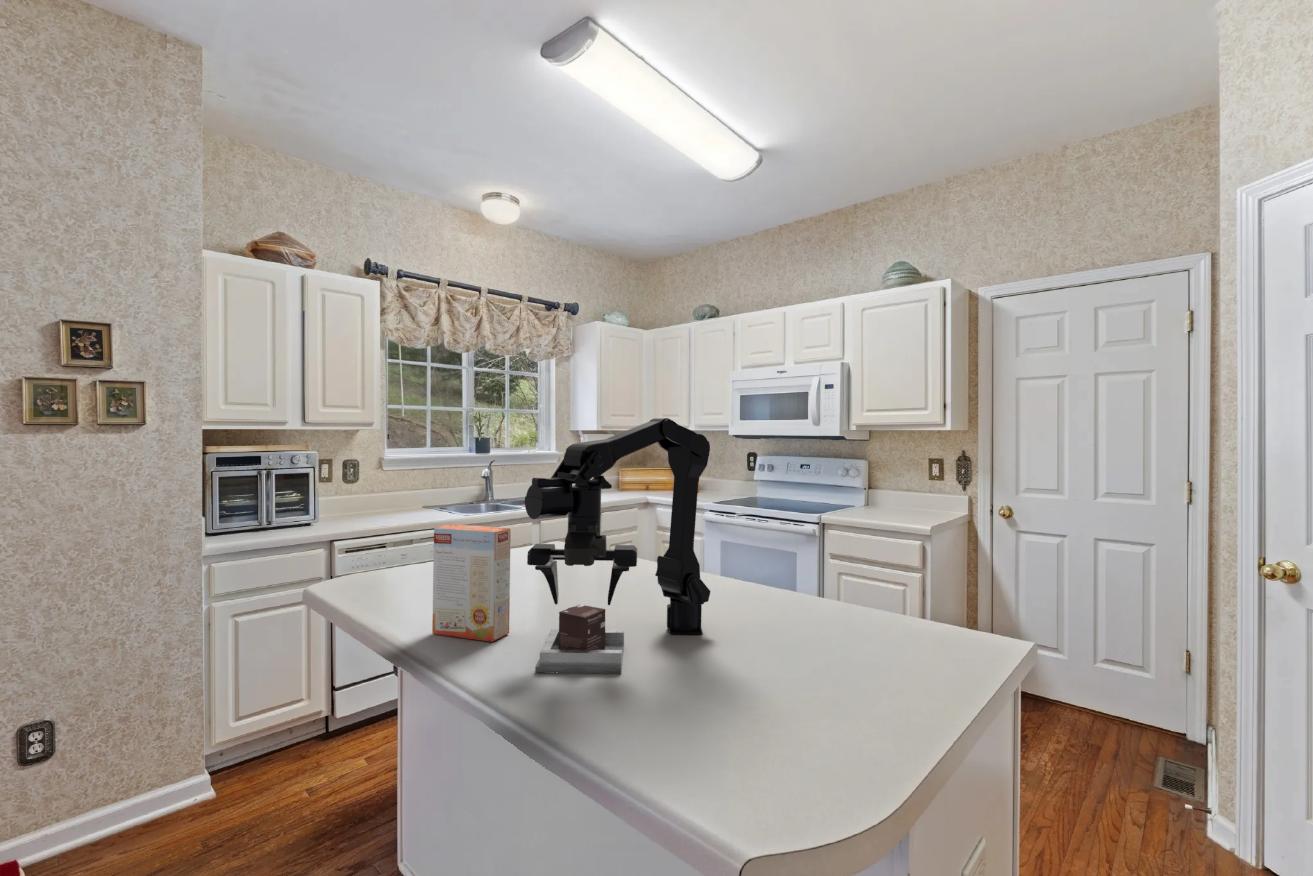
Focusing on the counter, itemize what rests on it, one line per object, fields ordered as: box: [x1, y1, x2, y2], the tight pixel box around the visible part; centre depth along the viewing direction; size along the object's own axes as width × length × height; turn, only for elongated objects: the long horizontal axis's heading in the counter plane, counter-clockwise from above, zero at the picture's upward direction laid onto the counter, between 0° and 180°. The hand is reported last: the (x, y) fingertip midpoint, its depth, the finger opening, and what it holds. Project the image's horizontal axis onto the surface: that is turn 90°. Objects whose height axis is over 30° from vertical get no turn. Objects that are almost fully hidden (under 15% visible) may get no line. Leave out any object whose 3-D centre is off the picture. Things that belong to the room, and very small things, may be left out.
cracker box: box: [431, 524, 511, 643], centre depth 117 cm, size 14×6×21 cm, turn 71°
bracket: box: [534, 628, 625, 675], centre depth 105 cm, size 14×14×3 cm
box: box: [558, 604, 606, 650], centre depth 105 cm, size 6×6×7 cm
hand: (582, 604), depth 105 cm, fingers open, 9 cm apart
